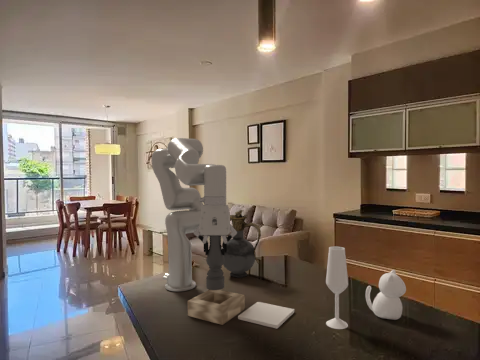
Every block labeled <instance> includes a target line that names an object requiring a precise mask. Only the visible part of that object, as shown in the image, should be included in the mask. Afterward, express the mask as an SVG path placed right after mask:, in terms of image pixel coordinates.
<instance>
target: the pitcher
mask: <svg viewBox="0 0 480 360" xmlns="http://www.w3.org/2000/svg"><path fill="white" fill-rule="evenodd" d="M243 212H244V210H243V209H240V210H239V211H235V213H234V214H230V221H231V225H232V227H233V228H234V229H235V230H236V231H237V234H236V235H235V236H234V237H232V238H231V239H230V240H229V241H228V242H227V252H225V255H224V263H223V265H222V266H223V267H224V268H225V269H226V271H229V272H230V273H229V276H230V277H232V278H238V279H239V278H241V279H242V278H245V277H247V275H248V273H247V272H248V271H249V270H251V268H252V267H253V266H254V263H255V262H256V263H257V264H259V263H260V262H259V259H258V258H257V256H256V255H257V254H256V250H257V247H258V245H259V243H260V239H261V236H262V231H261V228H260V226H259V225H258V224H257V223H255V222H249V223H247V222H246V221H245V220H246V219H247V218H248V216H249V214H244V215H242V213H243ZM249 227H253V228H255V229H256V230H257V241H256V243H255V246H254V245H253V243H252V242H250V241H249V240H247V239H246V238H245V237H244V230H245V228H249Z"/></svg>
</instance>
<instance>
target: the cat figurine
mask: <svg viewBox="0 0 480 360" xmlns="http://www.w3.org/2000/svg"><path fill="white" fill-rule="evenodd" d="M378 289H379V292H378V293H377V294H376V295H375V297H374V299H373V302H372V301H371V291H372V286H371V285H368V286H367V287H366V289H365V295H364V296H365V301H366V304H367V306H368V308H369V310H371V311H372V312H373V314H374V315H375V316H376V317H378V318H381V319H387V320H394V321H396V320H399V319H400V318H402V315H403V302H402V300H401V298H400V297H402V296H403V295H404V294H405V293H406V292H407V287H406V284H405V282H404V280H403V279H402V278H401V277H400V276H399V275H397V272H396V270H395V269H392V270H391V271H390V272H387V273H386V272H385V273H384V274H382V275H381V276H380V278H379V281H378Z"/></svg>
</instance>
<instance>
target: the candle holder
mask: <svg viewBox="0 0 480 360" xmlns="http://www.w3.org/2000/svg"><path fill="white" fill-rule="evenodd" d="M214 218H216V217H214ZM212 219H213V218H212ZM216 219H217V218H216ZM216 219H213V220H212V224H213V222H214V225H217V220H216ZM205 261H206V264H207V266H208V271H207V273H206V275H207V276H206V279H205V280H206V283H205V284H206V286H205V287H206V289H207V290H223V289H225V276H224V271H223V269H222V267H223V266H224V265H223V263H224V255H222V236H209V245H208V255H206V260H205Z"/></svg>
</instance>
